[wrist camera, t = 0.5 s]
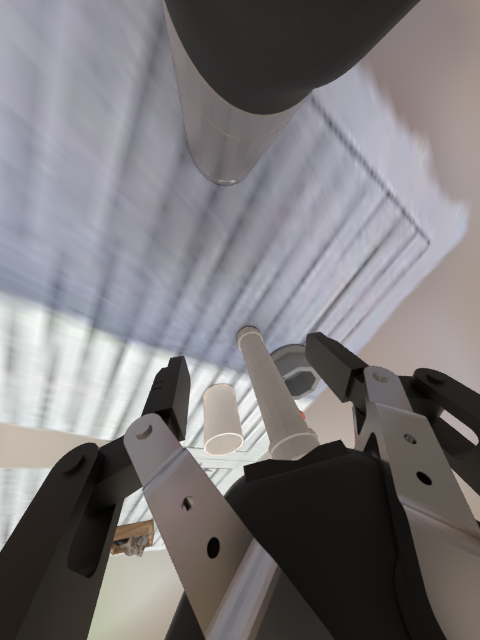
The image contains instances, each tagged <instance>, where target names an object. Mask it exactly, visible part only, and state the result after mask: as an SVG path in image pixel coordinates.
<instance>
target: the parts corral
mask: <svg viewBox="0 0 480 640" xmlns="http://www.w3.org/2000/svg"><path fill="white" fill-rule="evenodd" d="M144 534H149V537H148V540H147V543H146V545H145V547H150V546H152V544H153V538H154V522H153V520H149V521H143V522H138V523H133V524H128V525H122V526H117V528H116V532H115V536H114V539H113V543H112V547H111V551H110V552H111V554H112V555H114V554H119V553H123V552H124V549H123V548H121V547H119V546H117V545H115V544H114V541H115V540H120V539H125V538H130V537H135V536H139V535H144Z"/></svg>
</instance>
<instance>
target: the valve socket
mask: <svg viewBox="0 0 480 640" xmlns="http://www.w3.org/2000/svg"><path fill="white" fill-rule="evenodd" d="M305 348H306V347H305V346H303V345H298V344H292V345H286V346H283V347H281V348H279V349H277V350H275V351H274V352H273V353H271V354H270V356H271V358H272V360H273V362H274V364H275V366H276V368H277V369H278V371H279V373H280V375H281V377H282V379H283V381H284V383H285V385H286V386H287V388H288V390H289V392H290V394H291V396H292V398H293V400H296V399H301V398H302V397H304V396H306V395H307V394H309V393H311V392H313V391H314V390H315V388H316V386H317V385H318V383H319V381H320V379H321V377H320V376H319V375H318V373H317V372H316V371H315V370H314V369H313V367H312V366H311V365H310V364H309V363H308V361H307V360H306V357H305ZM299 411H300V410H299ZM300 413H301V415H302V417H303V419H305V415H304V414H303V412H302V411H300Z"/></svg>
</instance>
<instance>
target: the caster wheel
mask: <svg viewBox="0 0 480 640" xmlns="http://www.w3.org/2000/svg"><path fill="white" fill-rule="evenodd" d="M148 537H149V534H144V535H139V536H135V537H130V538H125V539H120V540H115V541H114V544H115V545H117V546H119V547H121V548H123V549H124V553H125V554H126V555H128V556H131V555H137V556H140V557H141V556H142V553H143V551H144V548H145V545H146V543H147V540H148Z"/></svg>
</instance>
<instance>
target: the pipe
mask: <svg viewBox="0 0 480 640" xmlns="http://www.w3.org/2000/svg"><path fill="white" fill-rule="evenodd" d="M237 344H238V347H239V349H240V350H241V351H242V354H243V357H244V360H245V363H246V366H247V370H248V373H249V376H250V379H251V382H252V386H253V389H254V392H255V395H256V398H257V401H258V405H259V408H260V411H261V414H262V417H263V421H264V424H265V427H266V430H267V433H268V437H269V440H270V445H269V448H268V449H269V452H270V456H271V458H272V459H275V460H299V459H300V458H302V457H303V456H304V455H306V454H307V453H309V452H310V451H312V450H313V449H314V448H316V447H317V446H319V445H320V443H319V441H318V437H317V435H316V433H315V432H314V431H313V430H312V429H310V428H308V426H307V424H306V422H305V420H304V419H303V417H302V415H301V413H300V411H299V409H298V407H297V405H296V403H295V402H294V400H293V398H292V396H291V394H290V392H289V390H288V388H287V386H286V385H285V383H284V381H283V379H282V377H281V375H280V373H279V371H278V369H277V368H276V366H275V364H274V362H273V360H272V358H271V356H270V354H269V352H268V351H267V349H266V347H265V345H264V343H263V337H262V335H261V334H260V333H259V331H258V330H257V329H256V328H254V327H245V328H243V329H242V330H240V331H239V333H238V334H237Z"/></svg>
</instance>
